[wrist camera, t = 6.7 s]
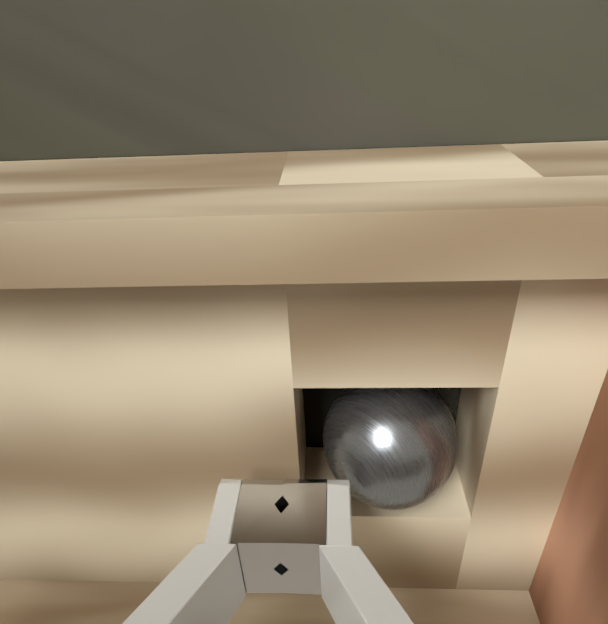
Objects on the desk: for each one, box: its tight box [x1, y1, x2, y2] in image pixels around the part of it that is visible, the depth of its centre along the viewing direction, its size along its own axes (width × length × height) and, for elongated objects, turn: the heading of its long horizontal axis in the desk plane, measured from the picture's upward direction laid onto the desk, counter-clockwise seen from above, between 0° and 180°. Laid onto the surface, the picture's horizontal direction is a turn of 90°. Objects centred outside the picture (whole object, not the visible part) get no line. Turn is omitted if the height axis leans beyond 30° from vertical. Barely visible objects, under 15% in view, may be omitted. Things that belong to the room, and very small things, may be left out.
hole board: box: [0, 141, 608, 624], centre depth 12 cm, size 14×25×6 cm, turn 92°
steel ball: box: [323, 388, 458, 510], centre depth 13 cm, size 4×4×4 cm
